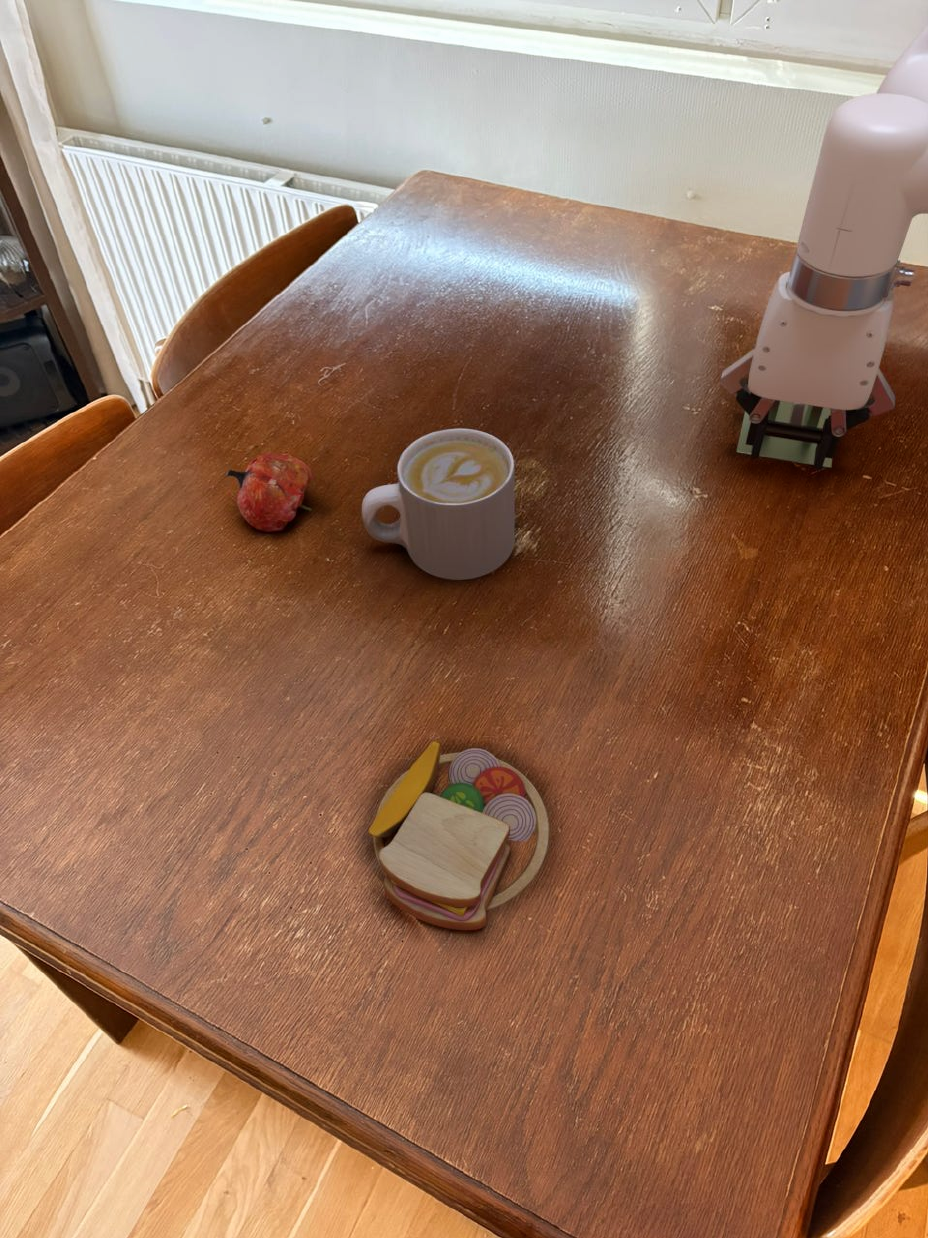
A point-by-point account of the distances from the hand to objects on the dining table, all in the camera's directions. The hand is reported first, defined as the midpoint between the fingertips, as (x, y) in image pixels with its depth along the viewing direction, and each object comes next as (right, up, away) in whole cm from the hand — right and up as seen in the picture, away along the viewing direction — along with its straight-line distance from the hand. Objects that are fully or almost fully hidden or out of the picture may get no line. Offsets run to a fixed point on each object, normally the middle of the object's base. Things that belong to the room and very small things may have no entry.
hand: (786, 453), depth 84 cm
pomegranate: (-48, -6, +3) cm, 48 cm away
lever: (+1, +6, 0) cm, 6 cm away
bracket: (+3, +4, +8) cm, 9 cm away
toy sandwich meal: (-31, -32, -20) cm, 48 cm away
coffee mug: (-32, -9, -1) cm, 34 cm away
